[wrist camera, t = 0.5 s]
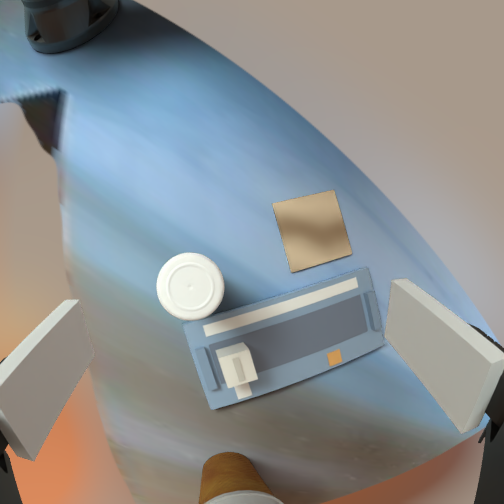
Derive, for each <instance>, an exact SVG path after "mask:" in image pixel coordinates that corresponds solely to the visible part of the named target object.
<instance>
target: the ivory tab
mask: <svg viewBox="0 0 504 504" xmlns="http://www.w3.org/2000/svg"><path fill="white" fill-rule="evenodd" d="M215 351H216V354H217V357H218V360H219V363H220V366H221V369H222V372H223V376H224V378H225V381H226V384H227V387H228V388H232V387H235V386H238V385H241V384H245V383H248V382H251V381H254V380H257V379H258V377H257V374H256V371H255V367H254V364H253V361H252V357H251V354H250V351H249V349H248V347H247V346H246V345H245V344H244V343H243V342H241V343H238V344H235V345H232V346H228V347H225V348H221V349H218V350H215Z"/></svg>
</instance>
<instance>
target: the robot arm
mask: <svg viewBox="0 0 504 504" xmlns="http://www.w3.org/2000/svg"><path fill="white" fill-rule="evenodd" d="M22 2H23V4H24V10H25V33H26V37H27V39H28V41H29V43H30V44H31V46H32V47H33V48H34V49H35V50H36V51H39V52H42V53H56V52H61V51H65V50H69V49H71V48H74V47H76V46H79V45H81V44H83V43H85V42H87V41H88V40H90V39H92V38H93V37H95V36H96V35H97V34H99V33H100V32H101V31H103V30H104V29H105V28H106V27H107V26H108V25H109V24H110V23H111V21H112V20H113V19H114V17H115V15H116V13H117V11H118V0H22ZM384 337H385V338H386V339H387V340H388V342H389V343H390V344H391V345H392V346H393V348H394V349H395V350H396V351H397V352H398V354H399V355H400V356H401V357H402V359H403V360H404V361H405V362H406V364H407V365H408V366H409V367H410V369H411V370H412V371H413V372H414V373H415V375H416V376H417V377H418V379H419V380H420V381H421V382H422V384H423V385H424V386H425V387H426V389H427V390H428V391H429V392H430V394H431V395H432V396H433V398H434V399H435V400H436V401H437V403H438V404H439V405H440V407H441V408H442V409H443V410H444V412H445V413H446V414H447V416H448V417H449V418H450V420H451V421H452V422H453V424H454V425H455V426H456V428H457V429H458V430H459V432H460V433H461V434H463V433H465V432H467V431H469V430H471V429H474V428H476V427H478V426H479V424H480V422H481V420H482V418H483V416H484V414H485V413H486V414H487V415H488V416H489V417H490V420H489V422H488V424H487V426H486V428H485V429H484V432H483V433H482V435H481V437H480V439H479V441H478V443H481V442H482V440H483V438H484V437H485V446H484V453H483V460H482V467H481V472H480V478H479V483H478V488H477V492H476V497H475V501H474V504H504V348H503V347H502V346H500V345H499V344H498V343H497V342H494V340H493V339H492V338H490V337H489V336H487V334H485V333H484V332H483V331H482V330H480V329H479V328H477V327H475V326H473V325H470V324H468V323H466V322H465V321H463V320H462V319H461V318H459V317H458V316H457V315H456V314H454V313H453V312H452V311H450V310H449V309H448V308H446V307H445V306H444V305H442V304H441V303H440V302H438V301H437V300H436V299H434V298H433V297H432V296H430V295H429V294H428V293H426V292H425V291H423V290H422V289H421V288H419V287H418V286H417V285H415V284H414V283H412V282H411V281H410V280H408V279H407V278H404V279H395V280H391V289H390V298H389V306H388V314H387V321H386V328H385V335H384ZM94 356H95V353H94V350H93V346H92V343H91V340H90V336H89V333H88V329H87V326H86V322H85V318H84V314H83V310H82V307H81V302H80V300H65V301H64V302H63V303H62V304H60V305H59V306H58V307H57V308H56V309H55V310H54V311H53V312H52V313H51V314H50V315H49V316H48V317H47V318H46V319H45V320H44V321H43V322H42V323H40V325H39V326H37V327H36V328H35V329H34V330H33V331H32V332H31V333H30V334H29V335H28V336H27V337H26V338H25V339H24V340H23V341H22V342H21V343H20V344H19V345H18V346H17V348H16V349H14V350H13V352H12V353H11V354H10V355H9V356H7V357H6V358H4V359H3V360H2V361H1V362H0V504H22V501H21V498H20V494H19V491H18V488H17V484H16V481H15V478H14V474H13V470H12V466H11V462H10V458H9V456H8V454H7V453H6V451H5V449H6V447H7V445H8V444H9V445H10V447H11V448H12V449H13V451H14V452H15V454H16V455H17V456H19V457H22V458H25V459H28V460H31V461H35V459H36V457H37V455H38V453H39V451H40V449H41V447H42V445H43V443H44V441H45V440H46V438H47V436H48V434H49V432H50V430H51V429H52V427H53V425H54V423H55V421H56V420H57V418H58V416H59V414H60V413H61V411H62V409H63V407H64V406H65V404H66V402H67V400H68V399H69V397H70V395H71V394H72V392H73V390H74V388H75V387H76V385H77V383H78V381H79V380H80V379H81V377H82V375H83V374H84V372H85V370H86V369H87V367H88V366H89V364H90V362H91V361H92V359H93V358H94Z"/></svg>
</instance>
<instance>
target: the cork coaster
mask: <svg viewBox="0 0 504 504" xmlns="http://www.w3.org/2000/svg"><path fill="white" fill-rule="evenodd" d="M272 206H273V209H274V213H275V216H276V220H277V223H278V227H279V231H280V234H281V238H282V241H283V245H284V248H285V252H286V256H287V259H288V263H289V267H290V270H291V273H292V272H296V271H299V270H302V269H306V268H309V267H312V266H315V265H319V264H322V263H325V262H328V261H331V260H335V259H338V258H341V257H344V256H347V255H351V254H352V251H351V247H350V243H349V240H348V236H347V232H346V229H345V225H344V222H343V218H342V215H341V211H340V208H339V205H338V201H337V198H336V195H335V191H334V190H331V191H326V192H321V193H317V194H312V195H308V196H303V197H299V198H294V199H290V200H285V201H281V202H277V203H273V204H272Z"/></svg>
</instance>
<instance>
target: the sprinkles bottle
mask: <svg viewBox="0 0 504 504" xmlns="http://www.w3.org/2000/svg"><path fill="white" fill-rule="evenodd" d="M157 294H158V298H159V300H160V302H161V304H162V306H163V307H164V308H165V309H166V311H168V312H169V313H170V314H171V315H173V316H174V317H177V318H179V319H182V320H187V321H195V320H200V319H203V318H205V317H207V316H209V315H210V314H212V313H213V312H214V311H215V310H216V309H217V308H218V306H219V305H220V303H221V301H222V298H223V295H224V279H223V276H222V273H221V271H220V269H219V268H218V266H217V265H216V264H215V263H214V262H213V261H212V260H211V259H209V258H208V257H206V256H204V255H201V254H198V253H183V254H179V255H177V256H174V257H173V258H171V259H170V260H169V261H167V262H166V263H165V265H164V266H163V267H162V269H161V271H160V273H159V275H158V279H157Z"/></svg>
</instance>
